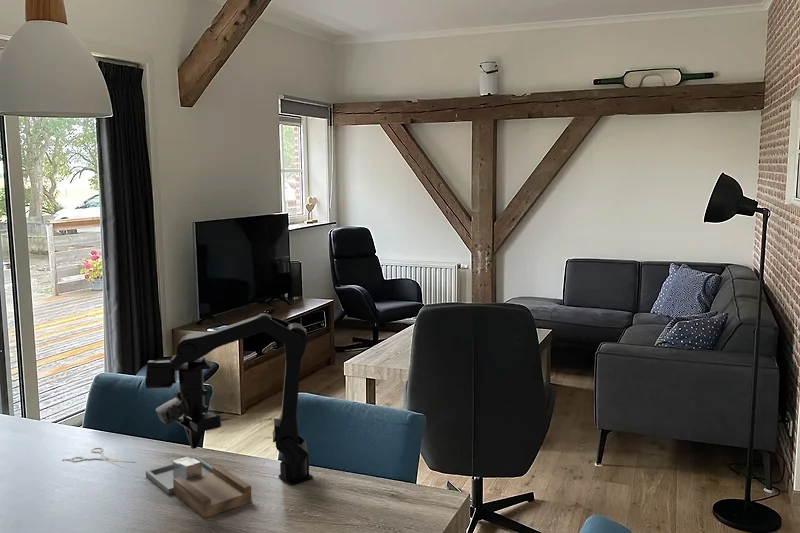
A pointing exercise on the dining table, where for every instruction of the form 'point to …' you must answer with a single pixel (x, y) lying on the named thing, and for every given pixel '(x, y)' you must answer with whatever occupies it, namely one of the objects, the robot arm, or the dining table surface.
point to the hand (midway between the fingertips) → (193, 448)
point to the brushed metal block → (190, 469)
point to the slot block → (213, 492)
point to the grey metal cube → (176, 466)
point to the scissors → (99, 458)
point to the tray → (171, 475)
